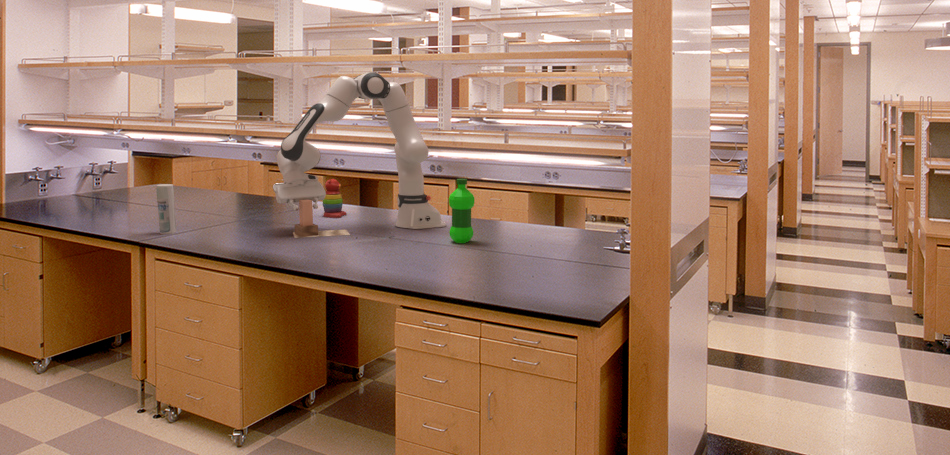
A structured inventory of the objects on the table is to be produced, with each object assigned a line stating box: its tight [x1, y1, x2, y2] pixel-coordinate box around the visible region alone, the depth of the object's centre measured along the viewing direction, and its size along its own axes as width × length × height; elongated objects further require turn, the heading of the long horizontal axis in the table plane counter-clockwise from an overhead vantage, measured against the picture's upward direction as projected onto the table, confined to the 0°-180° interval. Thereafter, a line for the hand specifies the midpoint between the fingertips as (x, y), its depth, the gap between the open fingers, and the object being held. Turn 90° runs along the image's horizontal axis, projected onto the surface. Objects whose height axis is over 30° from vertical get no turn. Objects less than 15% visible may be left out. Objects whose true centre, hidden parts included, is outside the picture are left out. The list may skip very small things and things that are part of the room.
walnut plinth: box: [294, 223, 319, 238], centre depth 285 cm, size 7×7×4 cm
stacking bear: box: [322, 178, 347, 219], centre depth 336 cm, size 11×10×18 cm
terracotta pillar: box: [298, 199, 314, 226], centre depth 283 cm, size 4×4×10 cm
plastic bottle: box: [448, 178, 475, 244], centre depth 277 cm, size 10×10×25 cm
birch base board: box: [292, 229, 351, 239], centre depth 288 cm, size 22×12×1 cm, turn 108°
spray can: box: [155, 183, 177, 235], centre depth 290 cm, size 6×6×20 cm
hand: (306, 208), depth 283 cm, fingers open, 7 cm apart
